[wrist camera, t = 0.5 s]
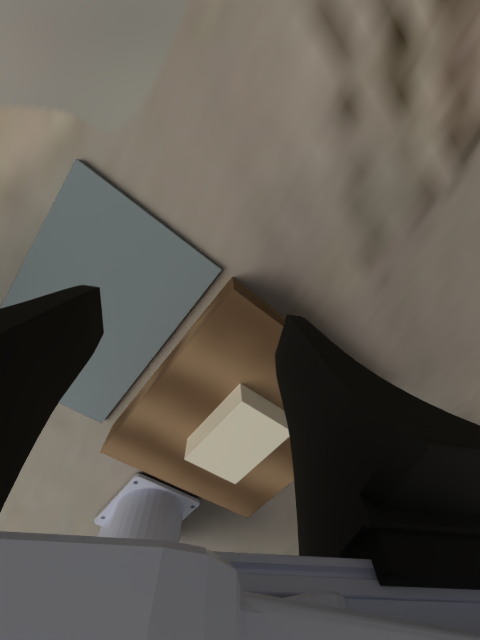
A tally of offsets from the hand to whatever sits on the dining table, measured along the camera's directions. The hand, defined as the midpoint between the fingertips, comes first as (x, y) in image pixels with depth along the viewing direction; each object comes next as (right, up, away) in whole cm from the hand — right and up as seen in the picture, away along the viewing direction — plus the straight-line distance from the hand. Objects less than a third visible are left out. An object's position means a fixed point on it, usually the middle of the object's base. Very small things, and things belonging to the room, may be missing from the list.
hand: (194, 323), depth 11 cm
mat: (-9, 0, +10) cm, 14 cm away
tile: (+2, -9, +12) cm, 15 cm away
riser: (+2, -8, +15) cm, 16 cm away
